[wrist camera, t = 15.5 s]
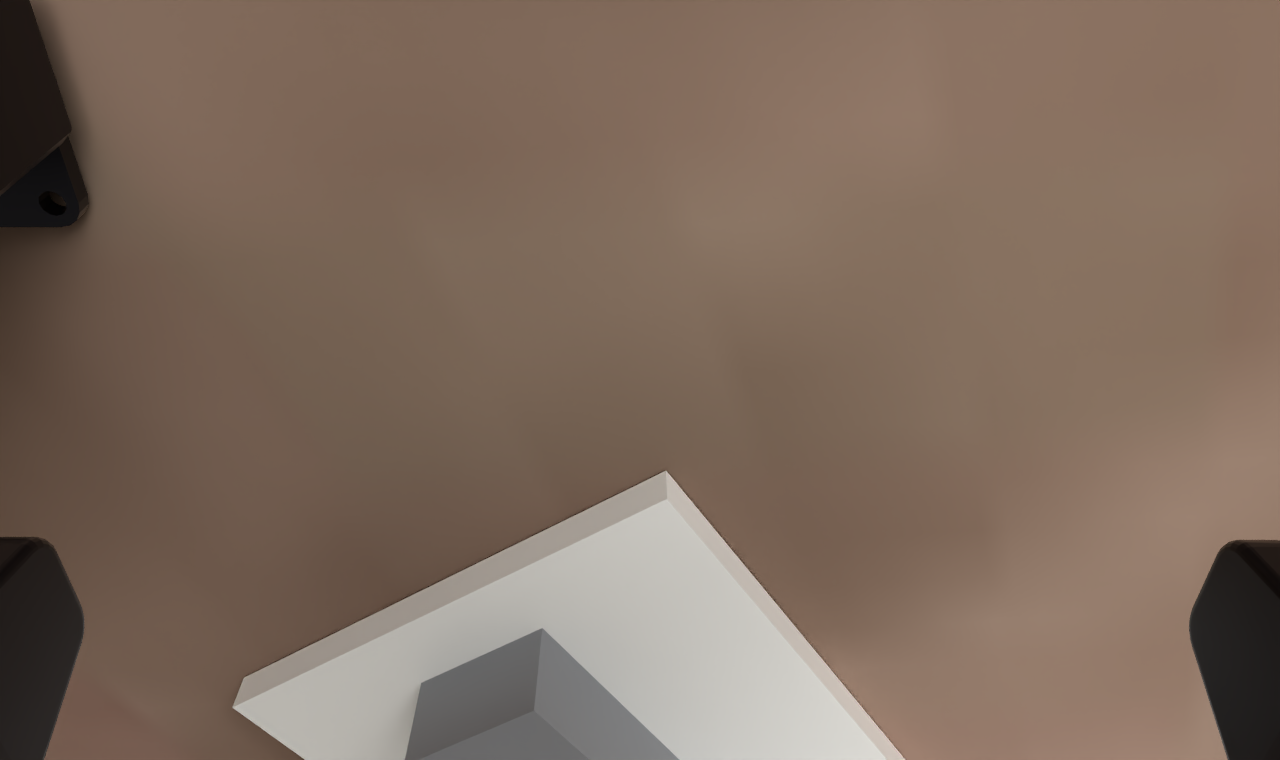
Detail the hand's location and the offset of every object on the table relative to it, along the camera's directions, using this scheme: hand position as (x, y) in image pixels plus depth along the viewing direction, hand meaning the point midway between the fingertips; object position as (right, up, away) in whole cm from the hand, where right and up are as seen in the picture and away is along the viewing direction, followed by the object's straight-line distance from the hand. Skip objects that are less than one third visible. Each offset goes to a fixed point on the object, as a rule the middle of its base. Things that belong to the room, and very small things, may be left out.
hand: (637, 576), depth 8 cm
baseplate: (+1, -11, +24) cm, 26 cm away
